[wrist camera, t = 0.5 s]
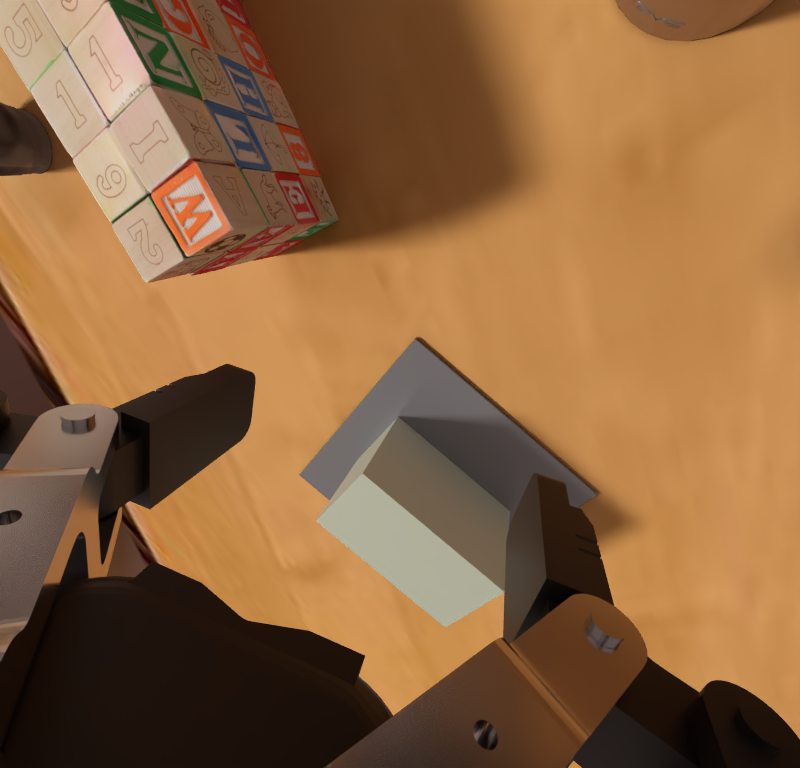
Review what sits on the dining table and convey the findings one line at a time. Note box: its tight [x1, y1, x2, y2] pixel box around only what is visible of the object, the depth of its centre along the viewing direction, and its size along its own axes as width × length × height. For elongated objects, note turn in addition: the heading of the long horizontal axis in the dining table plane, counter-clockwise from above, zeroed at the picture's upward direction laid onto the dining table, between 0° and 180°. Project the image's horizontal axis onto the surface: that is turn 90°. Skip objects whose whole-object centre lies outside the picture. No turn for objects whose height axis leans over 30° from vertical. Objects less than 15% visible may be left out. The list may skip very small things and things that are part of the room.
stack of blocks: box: [0, 0, 339, 283], centre depth 22 cm, size 21×6×12 cm, turn 25°
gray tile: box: [300, 338, 597, 527], centre depth 35 cm, size 18×18×1 cm
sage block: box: [316, 417, 510, 627], centre depth 31 cm, size 6×12×8 cm, turn 52°
